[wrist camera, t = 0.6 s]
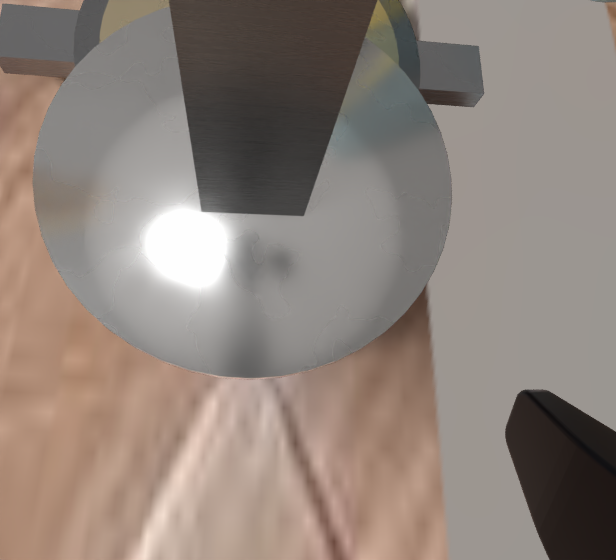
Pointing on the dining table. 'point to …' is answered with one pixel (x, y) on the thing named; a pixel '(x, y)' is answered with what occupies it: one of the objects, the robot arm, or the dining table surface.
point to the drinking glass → (605, 0)
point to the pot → (137, 3)
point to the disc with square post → (243, 185)
